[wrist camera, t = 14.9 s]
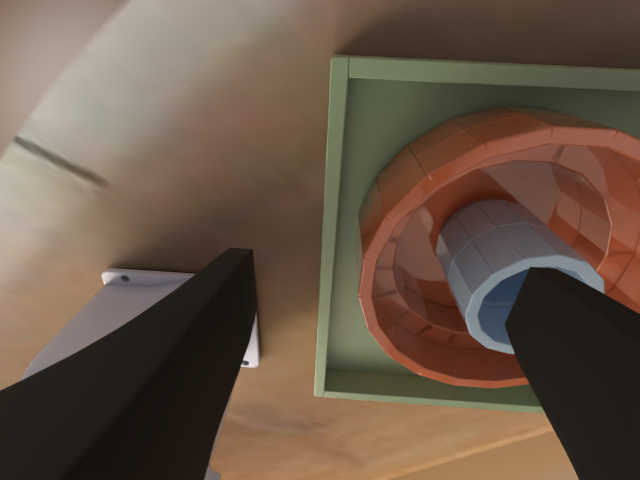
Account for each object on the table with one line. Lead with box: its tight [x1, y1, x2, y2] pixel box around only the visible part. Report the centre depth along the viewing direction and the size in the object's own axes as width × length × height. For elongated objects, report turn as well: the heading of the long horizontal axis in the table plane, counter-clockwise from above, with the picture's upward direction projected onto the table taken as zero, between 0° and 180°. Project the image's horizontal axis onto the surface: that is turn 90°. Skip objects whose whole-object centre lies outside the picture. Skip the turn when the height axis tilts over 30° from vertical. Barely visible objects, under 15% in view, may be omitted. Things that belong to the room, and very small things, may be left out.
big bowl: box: [355, 106, 640, 388], centre depth 16 cm, size 13×13×5 cm
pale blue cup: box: [435, 199, 604, 354], centre depth 15 cm, size 5×5×6 cm
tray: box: [314, 54, 640, 413], centre depth 18 cm, size 17×20×2 cm
